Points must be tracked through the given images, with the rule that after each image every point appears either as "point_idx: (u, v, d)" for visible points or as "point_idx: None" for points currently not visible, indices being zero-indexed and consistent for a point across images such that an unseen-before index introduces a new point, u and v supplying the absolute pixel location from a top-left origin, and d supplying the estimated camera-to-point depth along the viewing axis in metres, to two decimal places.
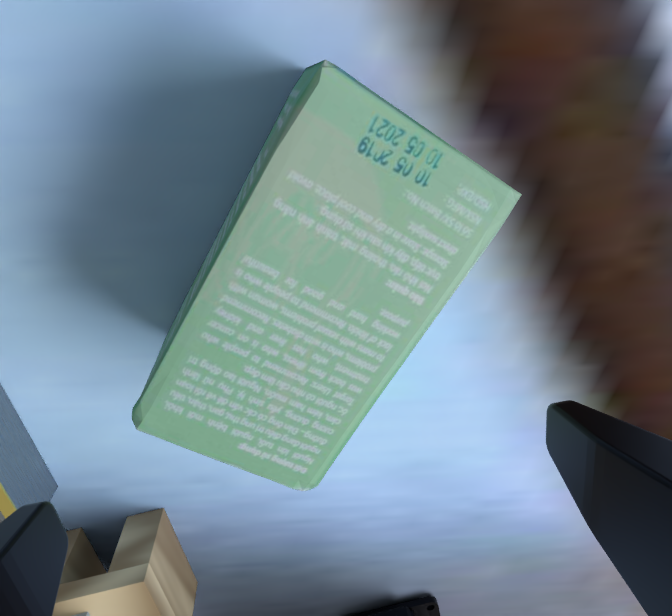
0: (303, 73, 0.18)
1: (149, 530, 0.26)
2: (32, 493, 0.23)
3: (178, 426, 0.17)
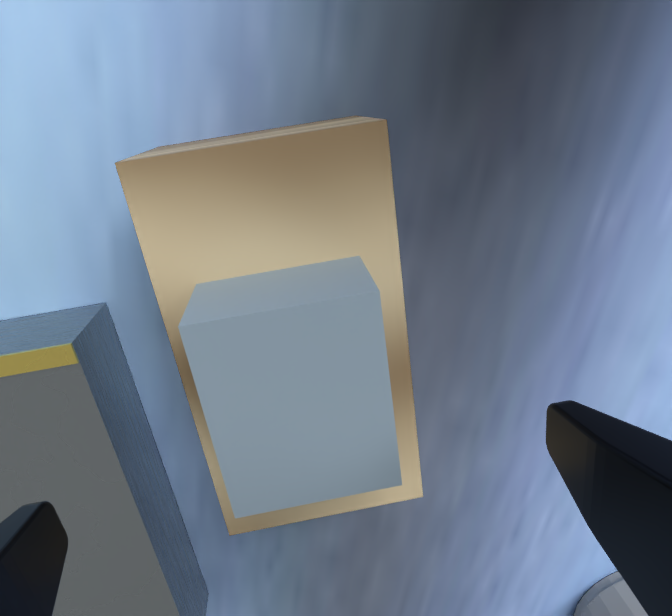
0: None
1: None
2: (46, 331, 0.15)
3: None
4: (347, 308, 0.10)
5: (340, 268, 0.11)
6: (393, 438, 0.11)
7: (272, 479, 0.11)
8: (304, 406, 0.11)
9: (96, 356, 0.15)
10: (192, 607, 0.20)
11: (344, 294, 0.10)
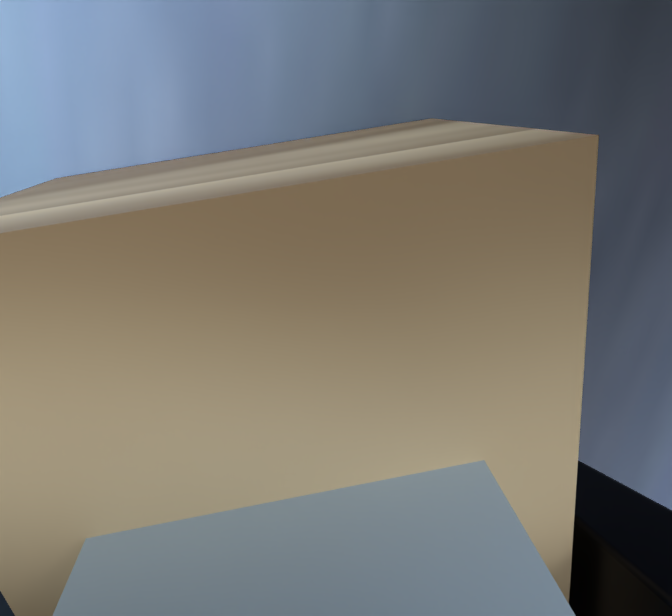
0: None
1: None
2: None
3: None
4: None
5: (454, 527, 0.04)
6: None
7: None
8: None
9: None
10: None
11: None
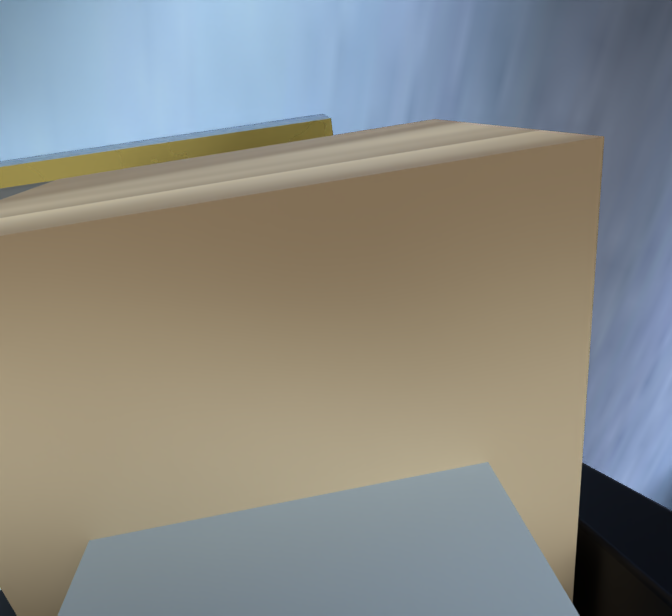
0: None
1: None
2: (290, 121, 0.16)
3: None
4: None
5: (458, 529, 0.04)
6: None
7: None
8: None
9: None
10: None
11: None
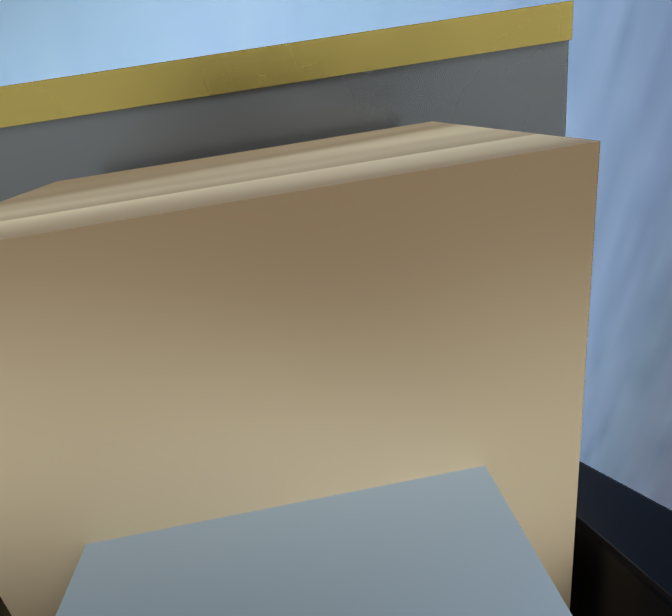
0: None
1: None
2: None
3: None
4: None
5: (454, 533, 0.04)
6: None
7: None
8: None
9: None
10: None
11: None
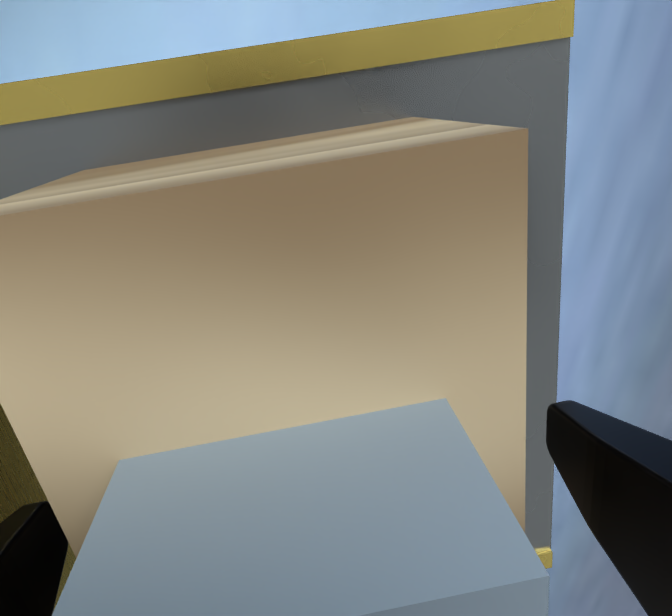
0: None
1: None
2: None
3: None
4: (466, 615, 0.04)
5: (416, 443, 0.05)
6: None
7: None
8: None
9: None
10: None
11: (456, 581, 0.04)
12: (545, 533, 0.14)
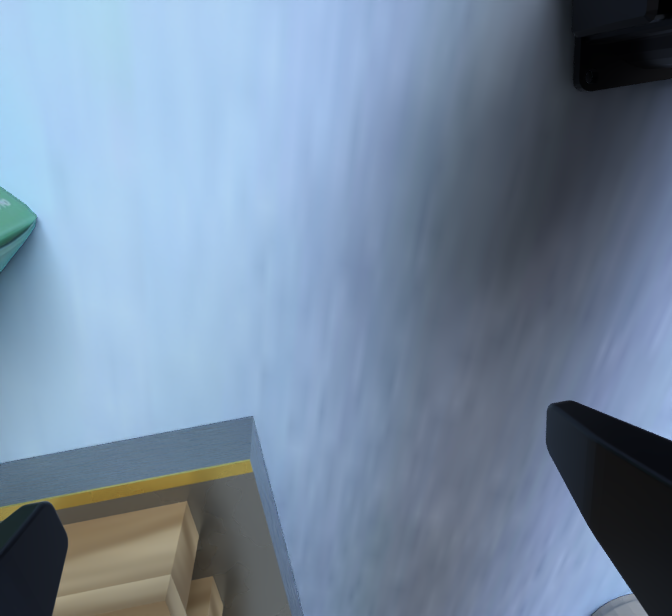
0: None
1: None
2: (223, 444, 0.21)
3: None
4: None
5: None
6: None
7: None
8: None
9: (255, 460, 0.22)
10: None
11: None
12: None
